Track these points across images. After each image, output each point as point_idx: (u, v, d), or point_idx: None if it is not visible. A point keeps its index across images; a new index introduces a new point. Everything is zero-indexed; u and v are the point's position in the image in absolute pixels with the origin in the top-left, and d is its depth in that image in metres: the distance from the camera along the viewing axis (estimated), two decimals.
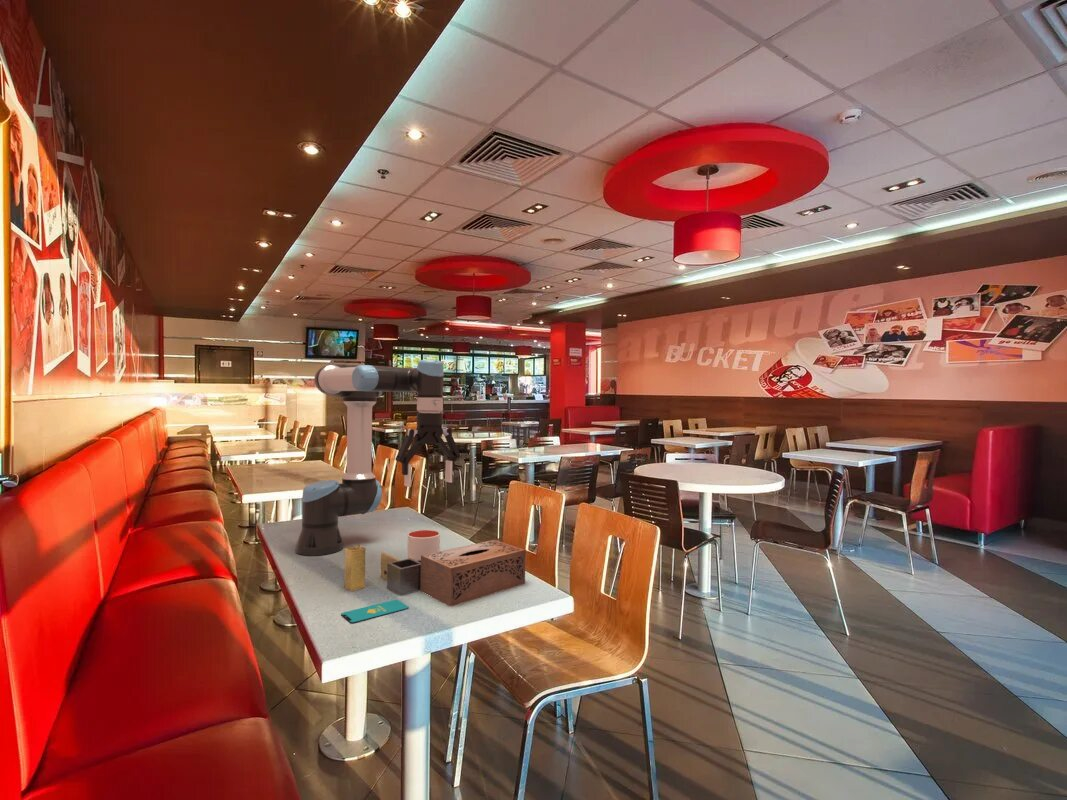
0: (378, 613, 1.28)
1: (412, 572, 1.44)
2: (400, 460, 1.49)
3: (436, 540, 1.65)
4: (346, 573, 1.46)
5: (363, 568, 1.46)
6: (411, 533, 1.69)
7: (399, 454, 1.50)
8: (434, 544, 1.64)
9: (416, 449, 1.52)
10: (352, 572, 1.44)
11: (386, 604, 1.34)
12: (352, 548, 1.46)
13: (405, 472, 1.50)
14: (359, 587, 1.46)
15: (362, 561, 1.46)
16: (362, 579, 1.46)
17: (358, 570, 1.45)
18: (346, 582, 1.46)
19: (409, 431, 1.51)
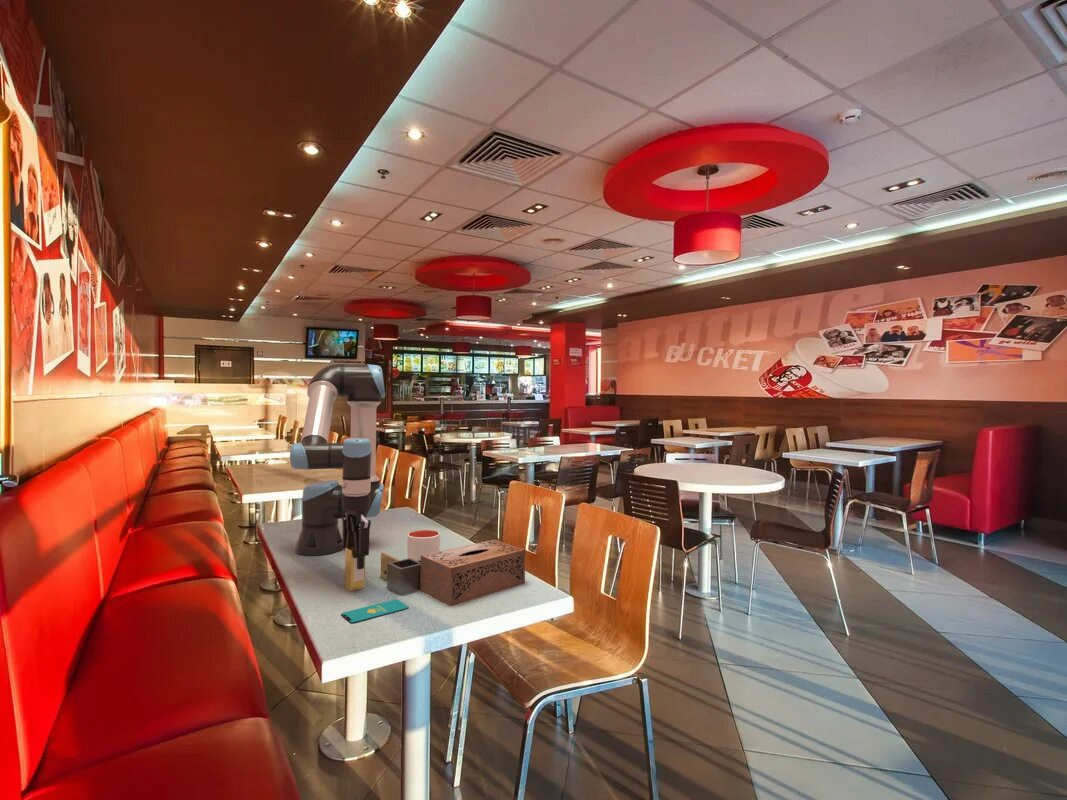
0: (378, 613, 1.28)
1: (412, 572, 1.44)
2: (343, 547, 1.50)
3: (436, 540, 1.65)
4: (346, 573, 1.46)
5: None
6: (411, 533, 1.69)
7: None
8: (434, 544, 1.64)
9: (347, 535, 1.48)
10: (352, 572, 1.44)
11: (386, 604, 1.34)
12: (352, 548, 1.46)
13: None
14: (359, 587, 1.46)
15: None
16: None
17: None
18: (346, 582, 1.46)
19: None
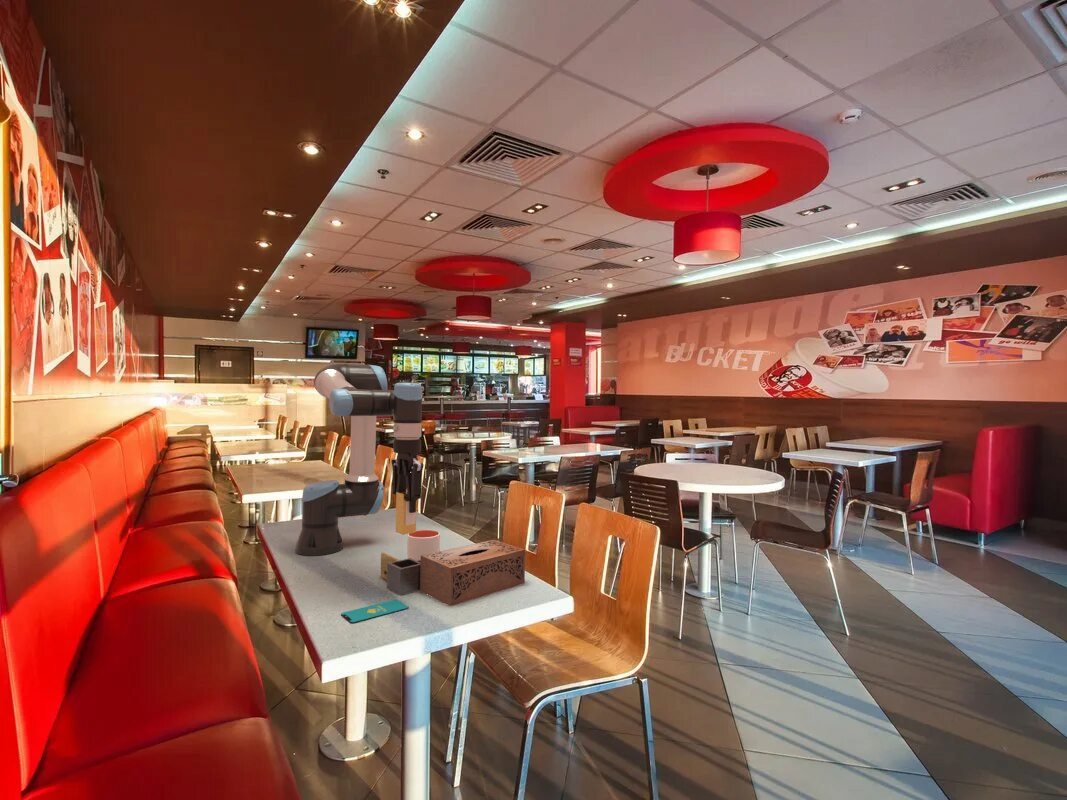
0: (378, 613, 1.29)
1: (412, 572, 1.44)
2: (393, 493, 1.49)
3: (436, 540, 1.65)
4: (397, 517, 1.46)
5: None
6: (411, 533, 1.69)
7: None
8: (434, 544, 1.64)
9: (398, 480, 1.47)
10: (404, 515, 1.44)
11: (386, 604, 1.34)
12: (403, 492, 1.46)
13: None
14: (410, 531, 1.45)
15: None
16: None
17: None
18: (397, 526, 1.46)
19: None
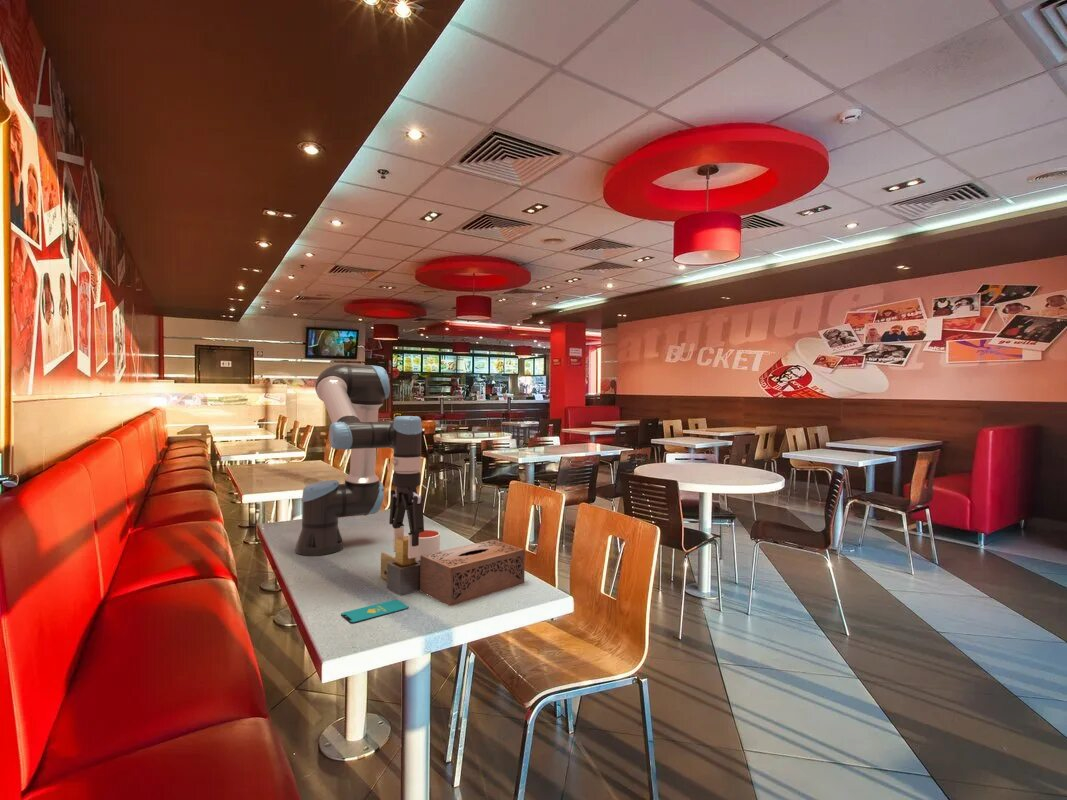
0: (378, 613, 1.29)
1: (412, 572, 1.44)
2: (390, 522, 1.51)
3: (436, 540, 1.65)
4: (397, 563, 1.46)
5: (414, 558, 1.46)
6: None
7: None
8: (434, 544, 1.64)
9: (396, 512, 1.48)
10: (404, 562, 1.44)
11: (386, 604, 1.34)
12: (403, 538, 1.46)
13: None
14: None
15: None
16: None
17: (409, 560, 1.45)
18: None
19: None
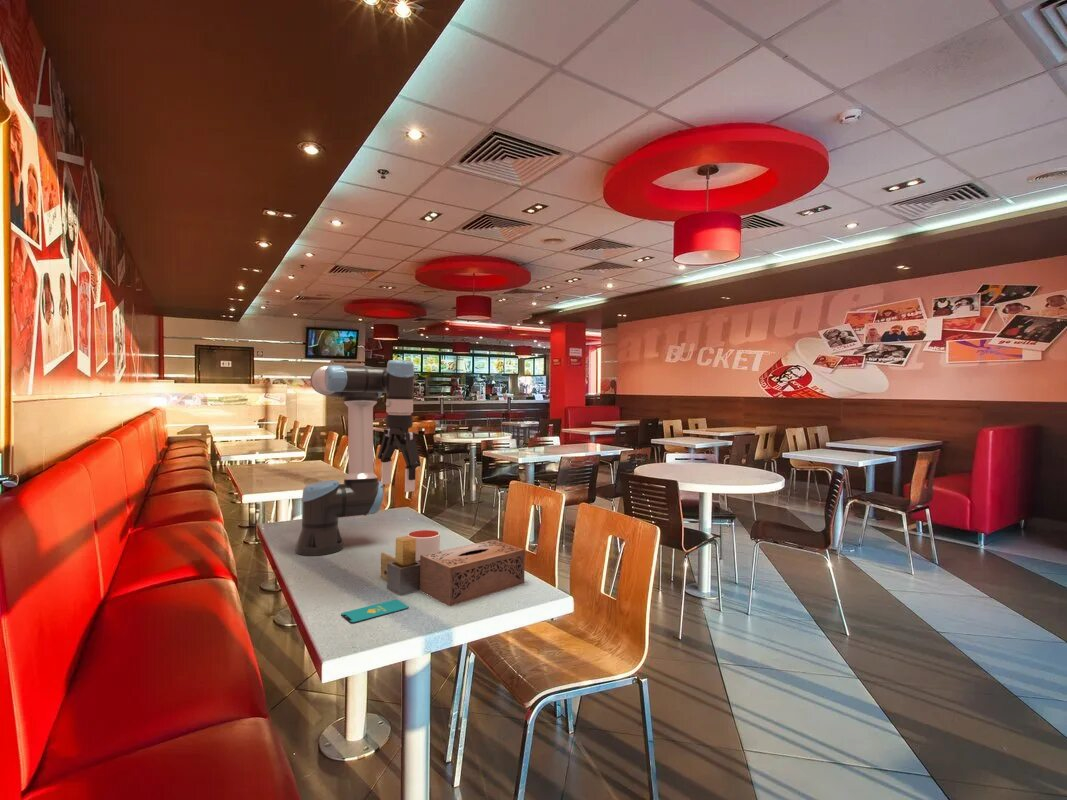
0: (378, 613, 1.29)
1: (412, 572, 1.44)
2: (378, 457, 1.58)
3: (436, 540, 1.65)
4: (397, 563, 1.46)
5: (414, 558, 1.46)
6: (411, 533, 1.69)
7: None
8: (434, 544, 1.64)
9: (386, 449, 1.55)
10: (404, 562, 1.44)
11: (386, 604, 1.34)
12: (403, 538, 1.46)
13: None
14: None
15: (413, 551, 1.46)
16: None
17: (409, 560, 1.45)
18: None
19: None
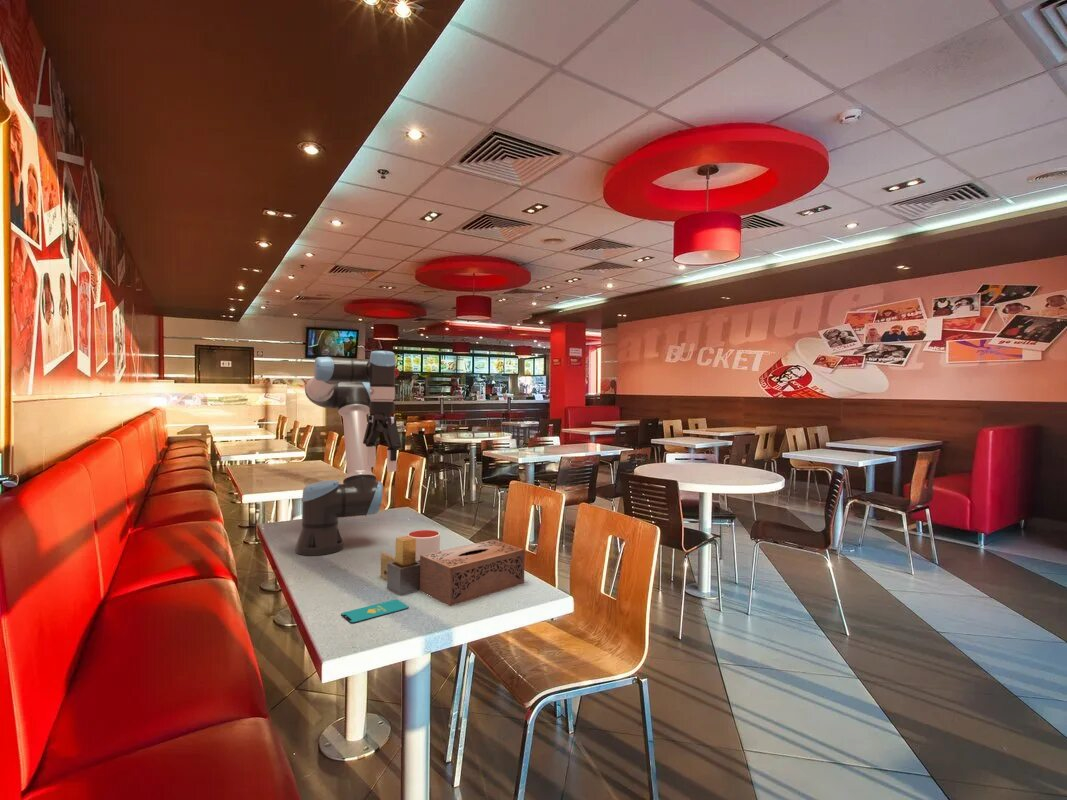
0: (378, 613, 1.29)
1: (412, 572, 1.44)
2: (363, 442, 1.70)
3: (436, 540, 1.65)
4: (397, 563, 1.46)
5: (414, 558, 1.46)
6: (411, 533, 1.69)
7: None
8: (434, 544, 1.64)
9: (370, 434, 1.67)
10: (404, 562, 1.44)
11: (386, 604, 1.34)
12: (403, 538, 1.46)
13: None
14: None
15: (413, 551, 1.46)
16: None
17: (409, 560, 1.45)
18: None
19: None
